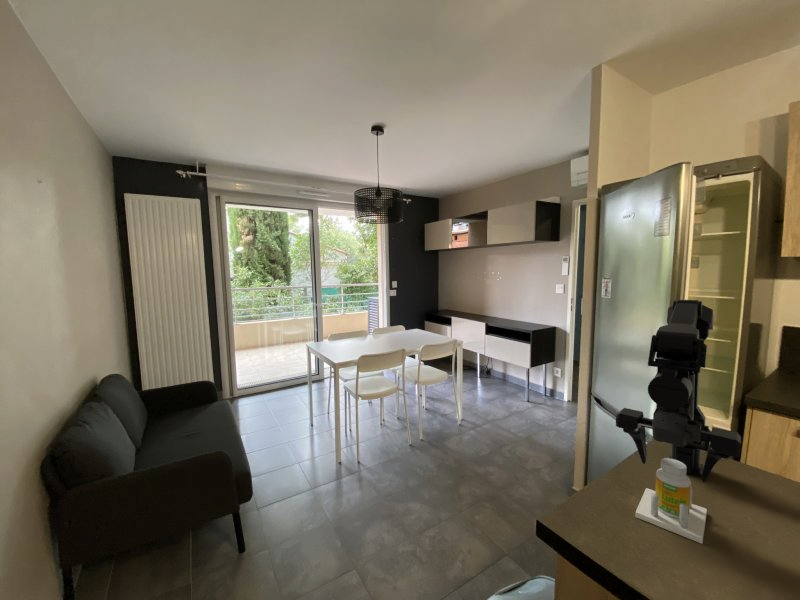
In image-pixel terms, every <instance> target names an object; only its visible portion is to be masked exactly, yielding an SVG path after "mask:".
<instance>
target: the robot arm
mask: <svg viewBox="0 0 800 600" xmlns="http://www.w3.org/2000/svg"><path fill="white" fill-rule="evenodd" d="M672 303H673V305H671V306H670V307H668V308H667V316H666V323H667V324H666V325H662V326H659V327H658V329H657V330H656V333H655V334H652V336H651V341H650V345H649V346H650V348H649V353H648V361H647V366H648V367H656V368H657V370H656V374H655V376H654V377H653V378H652V379H651V380H650V381H649V383H648V386H647V394H648V395H649V398H650V400H652V401H653V402H654V403H655V404H656V405H655V409H654V412H653V413H652V414H653V417H652V418H649V417H644V412H643V411H641V410H637V409H632V408H627V407H624V408H622V409H620V410H619V411H618V413H617V414H616V416H615V427H617V428H619V429H623V432H624V433H625V434H628V435H629V436H630V437H631V438H632V441H633V442H634V443H635V444H634V445H635V447H636V449H637V451H638V454H639V457H640V460H641V462H642V464H644V465H646V462H647V453H648V452H647V441H646V439H647V437H646V429H650V430H652V438H653V440H654V441H657V442H658V443H659V442H660V443H666V444H670V456H669V458H670V459H674V460H677V461H680V462H682V463H684V464H685V465H686V467H687V473H688V474H691V475H694V476H698V477H701V482H702V483H706V481H707V479H708V477H709V475H710V473H711V472H712V470H713V468H714V466H715V465H716V464H717V462H718V463H719V461H720V460H722V459H724V460H730V458H731V457H734V458H741V457H742V454H741V453H742V436H741V435H740V434H739V433H738V432H737V431H732V430H729V429H728V430H727V429H724V428H719V427H715V426H712V427H711V429H710V426H708V425H706V418H707V417H706V415H704V414H705V413H704V412H703V411H702V410H701V408H700V406H699V405H698V404H699V382H700V380H699V379H700V373H701V371H702V368H703V369H705V368H706V363H707V353H708V346H707V344H706V343H705V341H706V340H707V339H708V338H709V337H710V331H713V330H714V310H713V309H712V308H710V307H708V306H706V305H705V304H703V301H702V300H698V299H677V300H673V302H672ZM702 451H704V452H706V455H705V460H704V464H703V463H701V462H702V461H701V460H702ZM687 473H686V474H687Z"/></svg>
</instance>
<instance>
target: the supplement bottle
mask: <svg viewBox="0 0 800 600" xmlns="http://www.w3.org/2000/svg"><path fill="white" fill-rule="evenodd" d="M691 485H692V484H691V479H690V478H689V476H688V475H687V467H686V465H685V464H684V463H682V462H680V461H677V460H674V459H670V457H664V458H661V460H660V468H658V469H657V470H656V472H655V490H654V491H655V494H657V495H658V496H659V503H658V509H659V510H660V511H661V512H663V513H664V514H666V515H668V516H671V517H674V518H679V515H680V504H681V503H682V504H686V505H687V506H688V516H689V509H690V488H691V487H692V486H691Z"/></svg>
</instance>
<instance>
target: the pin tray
mask: <svg viewBox="0 0 800 600" xmlns="http://www.w3.org/2000/svg"><path fill="white" fill-rule="evenodd" d="M658 503H659V496H658V495H657V494H655V490H653V489H650V488H647V487H646V488H645V490H644V491H643V494H642V496H641V499H640V501H639V504H638V506H637V508H636V510H635V515H634V516H635V518H636V519H639V520H642V521H644V522H647V523H650V524H652V525H654V526H657V527H659V528H661V529H664V530H667V531H669V532H672V533H674V534H677V535H679V536H682V537H684V538H687V539H689V540H692V541H695V542H696V543H699V544H701V545H703V543H704V535H705V530H706V529H705V527H706V522H707V514H708V511H707V510H708V509H707V508H705V507H703V506H699V505H697V504H693V487H692V486H691V488H690V509H689V516H688V506H687V505H686V504H682V503H681V504H680V515H679V518H674V517H671V516H668V515H666V514H664V513H663V512H661V511H660V510H659V509H658Z"/></svg>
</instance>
